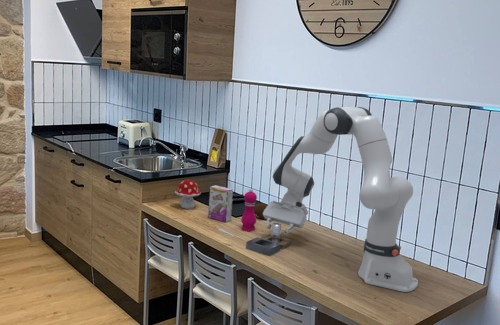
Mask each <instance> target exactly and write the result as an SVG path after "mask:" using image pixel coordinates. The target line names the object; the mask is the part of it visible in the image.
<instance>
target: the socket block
mask: <svg viewBox="0 0 500 325" xmlns="http://www.w3.org/2000/svg"><path fill="white" fill-rule="evenodd" d="M280 246H281V244H279V243H276V242H272V241H269V240H265V239H262V238H261V237H258V236H257V237H255V238H251V239H250V240H247V241H246V243H245V249H247V250H250V251H253V252H256V253H259V254H263V255H266V256H268V257H270V256H272V255H274V254H276V253H279V251H281V249H280Z"/></svg>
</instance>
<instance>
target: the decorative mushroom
mask: <svg viewBox="0 0 500 325" xmlns="http://www.w3.org/2000/svg"><path fill="white" fill-rule="evenodd" d="M174 193H175V195H176V196H181V197H182V198H181V199H180V201H179V205H180V208H182V209H187V210H191V209H193V208H194V207H195V206H196V203H195V200H194V198H193V197H198V196H200V195H201V194H202V192H201V190H200V188H199V185H198V184H197V182H195V181H194V180H191V179H185V180H182V181H181V182H180V183H178V185H177V188H176V189H175V191H174Z"/></svg>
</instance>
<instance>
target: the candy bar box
mask: <svg viewBox="0 0 500 325" xmlns="http://www.w3.org/2000/svg"><path fill="white" fill-rule="evenodd" d="M233 195H234V189H232V188H228V187H224V186H220V185H216V184H215V185H212V186H210V187H209V197H208V198H209V199H208V214H207V215H208V217H207V218H208V219H211V220H216V221H219V222H223V223H228V222H230V221H232V210H233V198H234V197H233Z"/></svg>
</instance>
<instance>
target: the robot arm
mask: <svg viewBox="0 0 500 325" xmlns="http://www.w3.org/2000/svg"><path fill="white" fill-rule="evenodd" d="M339 135H346V136H348V135H353V137H354V138H355V139H356V143H357V147H358V150H359V154H360V159H361V163H362V167H363V183H362V186H361V188H360V190H359V193H358V194H359V200H360V203H361V204H362V206H364V207H365V208H367V209H369V210H373V211H374V212H373V214H372V215H371V216H370V217H369V219H368V221H367V230H366V238H365V239H364V243H363V256H362V261H361V263H360V267H359V270H358V272H357V275H358V276H359V278H361V279H362V280H363V281H364V283H366V284H368V285H372V286H377V287H380V288H386V289H389V290H394V291H399V292H402V293H403V292H404V293H409V292H413V291H415V289H417V288H418V285H419V280H418V279H417V278H416V277H413V276H414V275H413V268H412V265H411V264H410V263H409V262H408V261H407V260H406V259H405V258H404V257H403V256H402V255H401V250H402V246H399V245H398V244H397V237H398V236H397V235H398V231H399V230H398V229H399V224H400V222H401V218H402V215H403V213H404V210H405V208H406V205H407V204H408V202H409V201H410V200H411V198H412V197H413V194H414V187H413V185H412V183H411V181H410V180H409V179H406V178H404V177H399V176H392V177H391V175H390V174H391V173H390V171H391V164H392V163H393V155H392V152H391V149H390V145H389V141H388V139H387V136H386V133H385V130H384V128H383V126H382V124H381V122H380V120H379V118H378V117H376V116H374V115H372V112H370V110H369V109H367V108H365V107H361V106H357V107H356V106H340V107H338V106H337V107H333V108H331V109H327V110H323V111H322V112H321V113H320V114H319V116H318V117H317V119H315V122H314V123H313V125H312V127H311V129H310V131H309V133H308V134H306V135H302V136H300V137H299V138H298V139H297V140H296V141H295V142H294V144H293V145H292V146H291V148H290V149H289V151H288V152H287V153H286V155H285V156H284V158H283V159H282V161H281V162H280V163H279V164H278V165H277V166H276V167H275V169H274V171H273V173H272V179H273V181H274V183H275V184H276V185H279V186H281V187H284V188H286V189H287V190H286V193H284V195H283V196H282V198H281V201H276V200H272V201H270V202H269V203H268V204H267V205H266V206H267V207H266V209H265V210H264V212H263V216H264V218H265V219H264V220H266V221H267V224H266V226H265V227H266V228H267V229H270V230H271V229H272V224H271V223H272V222H275V223H279V224H284V225H287V226H289V227H287V228H285V230H284V234H287V235H289V233H290V231H293V230H294V229H295V228H298V229H301V228H304V226H305V225H306V224H305V223H306V221H307V219H308V218H307V215H308V214H309V211H308V208H307V207H306V205H305V204H304V203H303V200H304V198H306V197H309V196H310V193H311V191H312V190H313V188H314V186H315V181H314V178H313V176H312V175H310V174H308V173H306V172H304V171H301V170H300V169H297V168H296V167H293V166H292V165H291V164H292V163H293V162H294V161H295V160H296V157H297V156H298V155H300V154H310V155H311V154H312V155H323V154H325V153H328V152H329V151H330V150H331V149H332V147H334V143H335V142H336V140H337V138H338V136H339Z"/></svg>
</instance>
